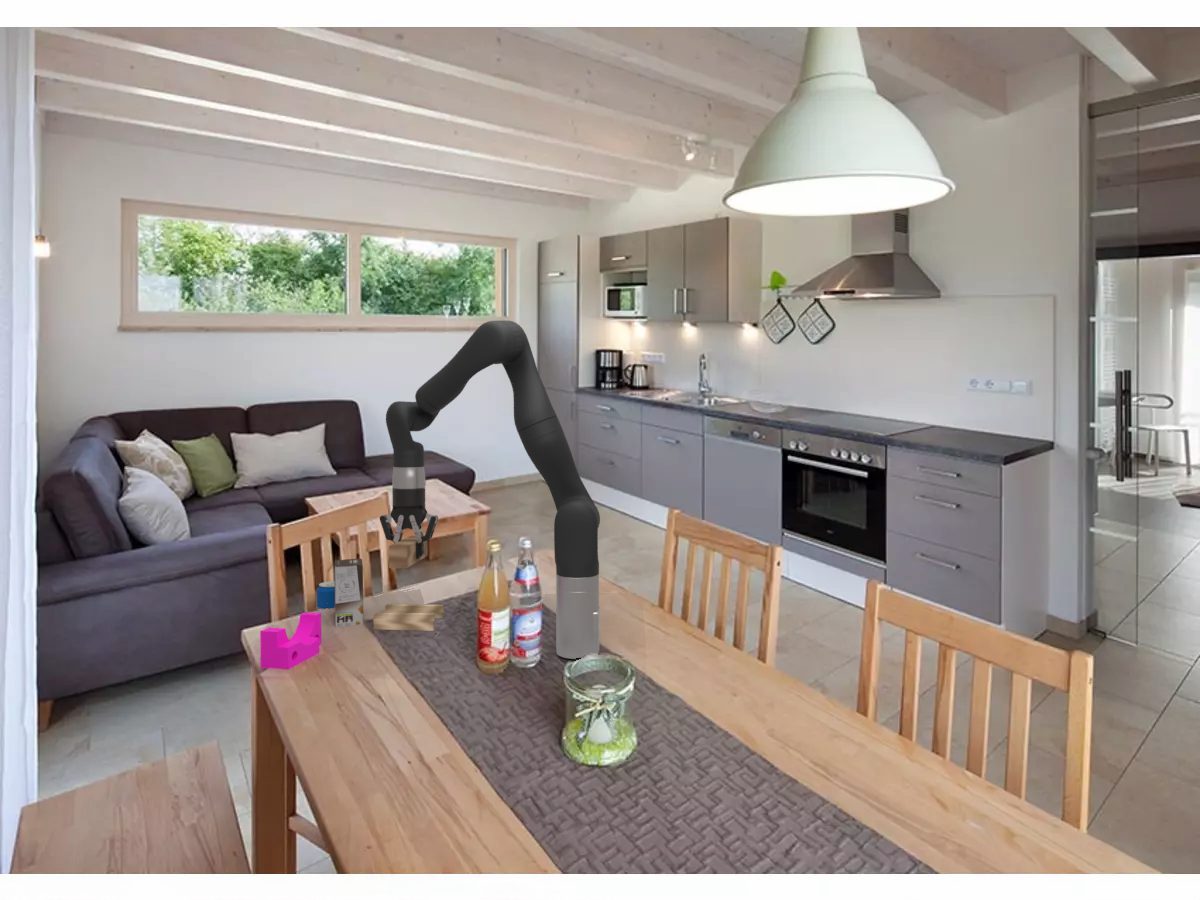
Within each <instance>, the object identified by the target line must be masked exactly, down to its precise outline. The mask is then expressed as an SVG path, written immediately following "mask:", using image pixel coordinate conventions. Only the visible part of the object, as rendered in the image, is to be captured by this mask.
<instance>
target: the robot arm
mask: <svg viewBox="0 0 1200 900" xmlns="http://www.w3.org/2000/svg"><path fill="white" fill-rule="evenodd" d="M499 364H500V365H502V367H503V368H504V370H505V373H506V375H507V377H508V379H509V382H510V385H511V388H512V393H513V395H512V397H513V421H514V425H515V428H516V431H517V434H518V436H519V438H520V441H521V443H522V445H523V448H524V449H525V451H526V454H527V456H528V458H529V460H531V462H532V463H533V465H534V467H535V468H536V470H537V471H538V472H539V474H540V475H541V477H542V479H543V480H544V482H545V483H546V486H547V487H548V489H549V492H550V494H551V498H552V499H553V502H554V503H553V504H554V505H555V509H556V514H555V516H554V520H553V521H554V523H553V527H554V528H553V533H554V534H553V537H554V539H553V541H554V542H553V543H554V544H553V545H554V547H553V548H554V563H555V569H556V570H555V573H556V574H555V579H556V580H555V582H556V583H555V584H556V585H555V586H556V587H555V589H556V590H555V591H556V592H555V593H556V595H555V599H556V601H555V605H556V606H555V607H556V609H555V615H556V616H555V618H556V620H555V625H556V627H555V633H556V634H555V635H556V636H555V638H556V639H555V640H556V641H555V647H556V651H555V652H556V655H557V656H559V657H562V658H564V659H571V660H577V659H576V658H579V657H582V656H584V655H586V654H590V653H599V654H600V598H599V597H600V592H599V591H600V562H599V554H598V553H599V552H598V551H599V547H598V546H599V544H598V543H599V542H598V541H599V536H598V535H599V532H598V531H599V527H600V523H601V515H600V511H599V509H598V508H597V506H596V504H595V502H594V500H593V499H592V497H591V495H590V494H589V492H588V490H587V488H586V486H585V485H584V483H583V480H582V478H581V476H580V475H579V471H578V470H577V467H576V463H575V460H574V457H573V454H572V451H571V449H570V445H569V443H568V440H567V437H566V435H565V434H566V433H565V432H564V429H563V427H562V425H561V423H560V420H559V417H558V416H557V413H556V411H555V409H554V407H553V405H552V403H551V399H550V397H549V395H548V393H547V389H546V388H545V386H544V383H543V381H542V378H541V376H540V374H539V370H538V366H537V364H536V361H535V358H534V354H533V351H532V348H531V344H530V342H529V339H528V336H527V334H526V332H525V331H524V328H522V326H520V324H518V323H517V322H515V321H513V320H504V319H503V320H488V321H486V322H484V323H482V324H480V326H479V327H477V329H475V331H474V332H473V333H472V334H471V335H470V337H469V338H468V339H467V341H466V342H465V343H464V345H463V346H462V347H461V348H460V349H459V350H458V351H457V352H456V354H455V355H454V356H453V357H452V358H451V359H450V360H449V361H448V362H447V363H446V364H445V365H444V366H443V367H442V368H441V369H440V370H439V371H438V372H436V373H435V374H434V375H433V376H431V378H429V379H428V380H427V381H426V382H424V383H423V384H422V385H421V386H420V387H419V388H418V389H417V390H416V392H415V396H414V397H415V401H402V400H401V401H394V402H392V403H391V404H390V405H389V406H388V408H387V409H386V414H385V424H386V428H387V429H386V430H387V432H388V435H389V439H390V443H391V447H392V449H393V453H392V454H393V455H392V456H393V459H392V460H393V468H392V469H393V470H392V477H391V478H392V479H391V480H392V489H391V490H392V493H391V494H392V509H391V511H390V513H388V514H383V515H380V516H379V522H380V525H381V527H382V530H383V533H384V536H385V539H386V540H387V541H392V542H393V544H395V543H397V542H399V541H401V540H403V539H402V538H403V535H404V533H405V530H407V529H410V530H412V531H413V534H414V536H416V540H417V543H416V559H420V558H421V556H423V554H424V542H425V541H427V542H428V541H430V539H432V538H433V535H434V533H435V529H436V526H437V523H438V520H439V516H438V515H436V514H434V515H433V514H431V513H428V510H427V508H426V484H427V483H426V481H427V480H426V473H425V449H424V448H425V447H424V444H423V443H421V442H418V441H416V440H414V438H413V436H412V433H411V432H421V431H423V430H426V429H427V428H429V427H430V426H431V425H432V424H433V422H434V421H435V419H436V418H437V417H438V415H439V413H440V412H441V411H442V410H443V409H444V408H445V407H447V406H448V405H449V404H451V403H452V402H453V401H454V400H455V399H457V397H459V395H460V394H461V393H462V392H463V391H464V389H465V387H466V386H467V384H468V383H469V381H470V380H471V379H472V378H473V377H474V376H475V375H477V373H479V372H481V371H483V370H485V369H486V368H489V367H490V366H493V365H499ZM425 519H426V523H427V524H428V525H427V528H426V532H425V534H424V529H423V526H422V524H423V522H424V521H425ZM392 520H393V521H394V523H395V524H396V527H395V531H394V530H393V528H392V524H391V523H392Z"/></svg>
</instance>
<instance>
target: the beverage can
mask: <svg viewBox="0 0 1200 900" xmlns="http://www.w3.org/2000/svg"><path fill="white" fill-rule="evenodd" d="M327 603H328V604H327ZM316 607H317V608H318V609H325V610H326V608H328V609H329V610H330V609H335V580H333V581H331V580H330V581H329V580H328V581H324V582H320V583H318V587H317V589H316ZM328 609H327V610H328Z"/></svg>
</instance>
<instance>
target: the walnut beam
mask: <svg viewBox="0 0 1200 900" xmlns="http://www.w3.org/2000/svg"><path fill="white" fill-rule="evenodd" d="M416 543H417V540H416V536H415V535H410V536H407V537H405V538H403V539H402V540H401V541H399V542H397V543H395V544H394V543H393V544H392V543H391V544H390V545H389V546H388V568H389V569H408V568H410V567H411V566H413V565H415V564H416V563H418V562H419V561H421V560H422V559H424V558H426V557H428V540H427V541H425V542H424V554H423V556H421V558H420V559H416Z"/></svg>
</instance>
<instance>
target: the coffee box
mask: <svg viewBox="0 0 1200 900" xmlns="http://www.w3.org/2000/svg"><path fill="white" fill-rule="evenodd" d="M334 581H335V608H334V624H335V628H344V627H350V626H356V625H362V624H364V564H363V560H362V558H348V559H335V560H334Z"/></svg>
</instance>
